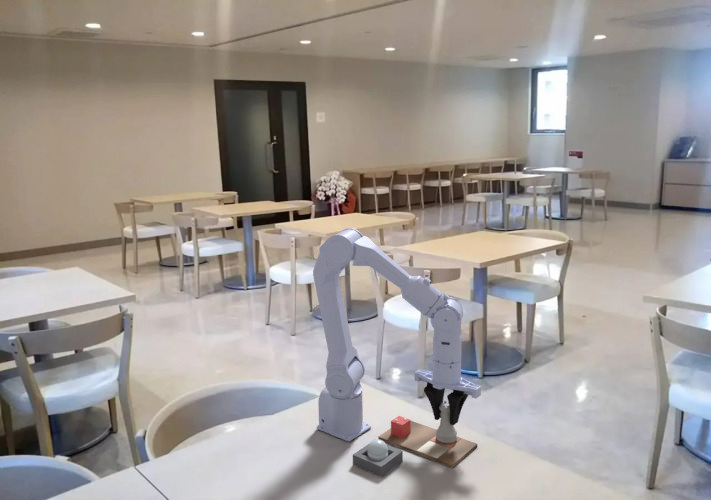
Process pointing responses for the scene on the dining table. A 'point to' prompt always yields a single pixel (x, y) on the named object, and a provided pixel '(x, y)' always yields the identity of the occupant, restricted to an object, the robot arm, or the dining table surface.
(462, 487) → the dining table surface
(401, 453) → the dome housing
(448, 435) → the rook chess piece
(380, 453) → the dome button
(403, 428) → the red die
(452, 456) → the game board
